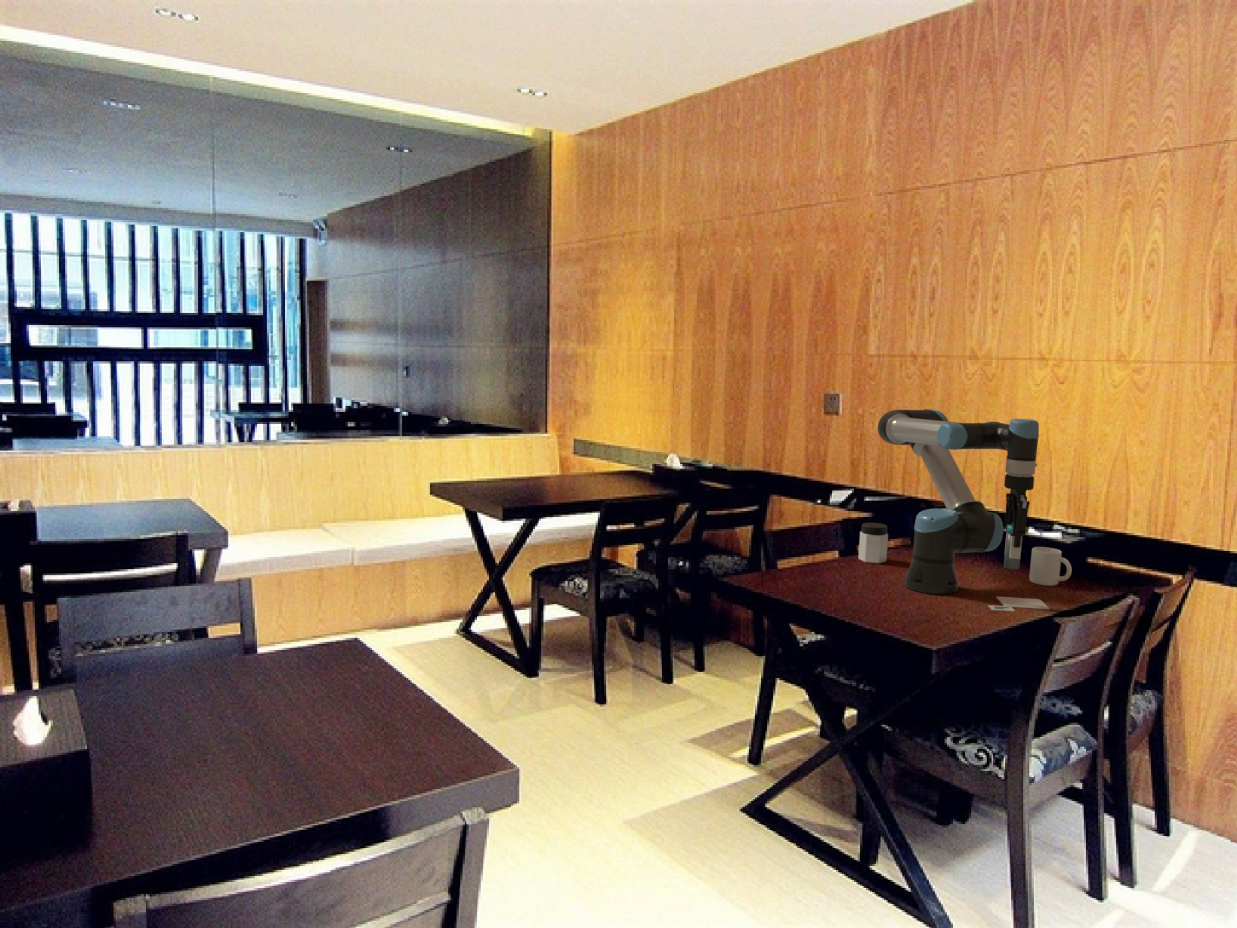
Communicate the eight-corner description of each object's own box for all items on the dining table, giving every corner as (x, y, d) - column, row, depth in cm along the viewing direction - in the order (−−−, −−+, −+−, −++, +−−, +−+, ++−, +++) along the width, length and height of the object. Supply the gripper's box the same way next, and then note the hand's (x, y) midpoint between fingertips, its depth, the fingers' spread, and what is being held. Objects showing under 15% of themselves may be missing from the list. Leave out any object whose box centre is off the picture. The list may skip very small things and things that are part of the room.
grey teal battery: (1005, 568, 253) (1009, 524, 251) (1001, 565, 257) (1005, 521, 255) (1021, 569, 252) (1025, 525, 250) (1016, 566, 256) (1020, 522, 254)
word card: (992, 610, 248) (992, 609, 248) (988, 606, 252) (988, 604, 252) (1015, 611, 247) (1015, 610, 247) (1010, 607, 251) (1011, 606, 251)
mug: (1075, 586, 275) (1078, 553, 274) (1063, 590, 270) (1066, 557, 269) (1036, 577, 284) (1039, 545, 283) (1024, 581, 279) (1027, 549, 278)
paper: (1004, 606, 252) (1004, 605, 252) (996, 597, 261) (996, 596, 261) (1049, 609, 251) (1050, 608, 250) (1039, 600, 259) (1039, 598, 259)
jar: (890, 563, 297) (892, 527, 295) (867, 564, 295) (870, 528, 294) (876, 556, 306) (879, 521, 304) (854, 557, 304) (857, 522, 302)
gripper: (1043, 480, 242) (1035, 564, 245) (1024, 470, 259) (1017, 549, 262) (1014, 478, 243) (1007, 562, 246) (997, 469, 260) (990, 548, 263)
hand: (1012, 556), depth 254 cm, fingers closed on grey teal battery, 4 cm apart
